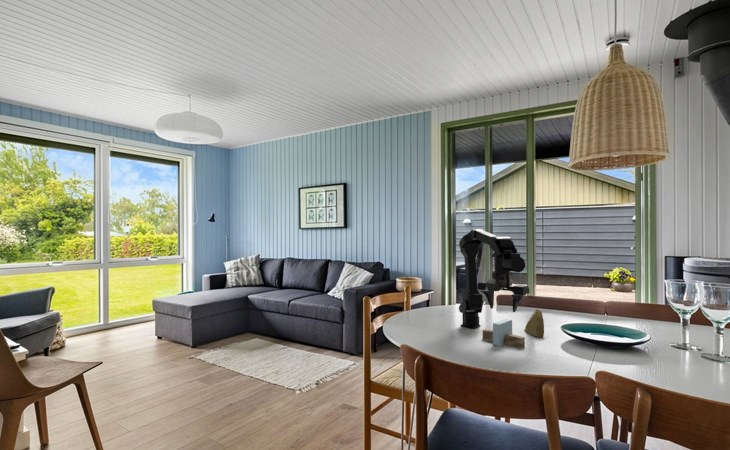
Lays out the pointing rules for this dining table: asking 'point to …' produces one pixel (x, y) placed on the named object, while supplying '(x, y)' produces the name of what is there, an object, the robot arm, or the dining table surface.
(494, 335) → the blue-grey rectangular slab
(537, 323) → the rock
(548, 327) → the dining table surface
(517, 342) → the walnut rail
